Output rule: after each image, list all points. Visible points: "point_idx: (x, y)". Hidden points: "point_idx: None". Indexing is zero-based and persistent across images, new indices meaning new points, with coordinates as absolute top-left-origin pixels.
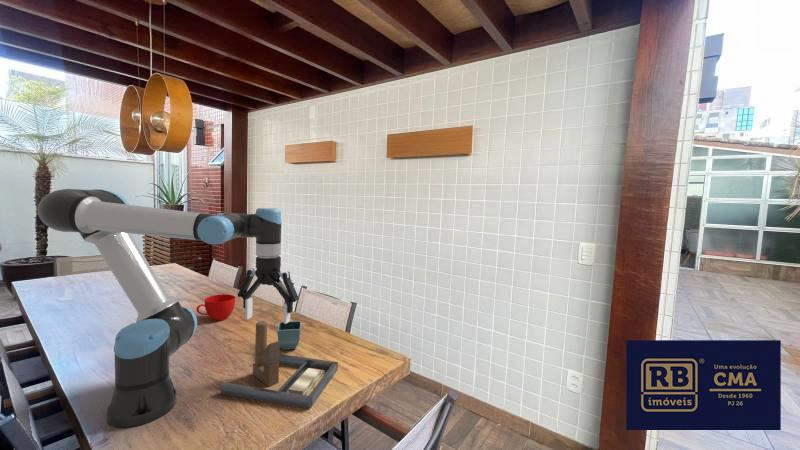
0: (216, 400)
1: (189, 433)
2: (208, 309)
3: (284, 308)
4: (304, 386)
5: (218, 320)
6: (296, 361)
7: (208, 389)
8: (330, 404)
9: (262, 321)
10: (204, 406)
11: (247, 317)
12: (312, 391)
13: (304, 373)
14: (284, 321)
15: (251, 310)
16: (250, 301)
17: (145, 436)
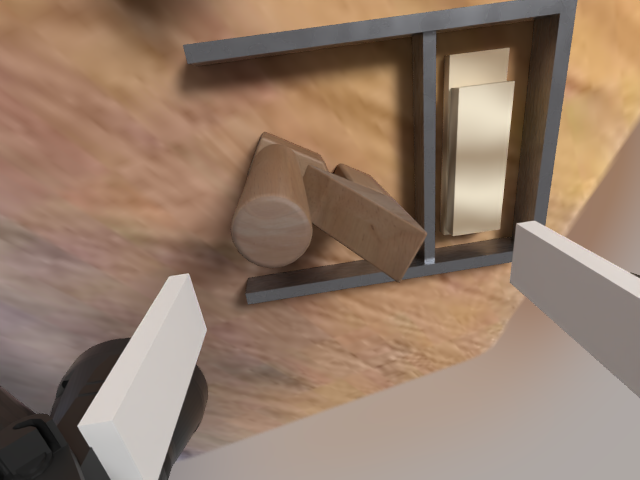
0: (266, 309)
1: (311, 394)
2: None
3: (612, 368)
4: (494, 205)
5: None
6: (374, 40)
7: (198, 285)
8: (569, 208)
9: (256, 210)
10: (260, 335)
11: (203, 339)
12: None
13: (462, 134)
14: (525, 291)
15: (174, 321)
16: (144, 417)
17: (241, 425)
